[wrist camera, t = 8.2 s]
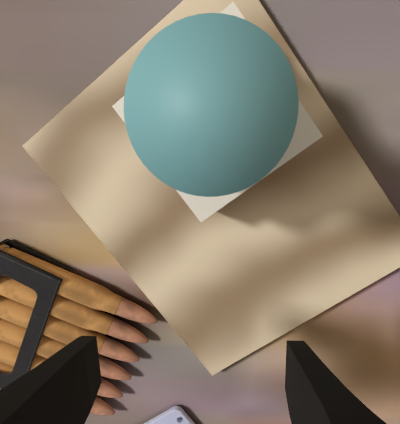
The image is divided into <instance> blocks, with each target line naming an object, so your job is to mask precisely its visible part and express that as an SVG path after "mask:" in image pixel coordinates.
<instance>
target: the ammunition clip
mask: <svg viewBox="0 0 400 424" xmlns="http://www.w3.org/2000/svg"><path fill="white" fill-rule="evenodd" d="M72 271H73V269H71V268H69V267H67V266H65V265H63V264H61V263H59V262H56V261H54V260H52V259H50V258H48V257H46V256H44V255H41V254H39V253H37V252H35V251H33V250H31V249H29V248H27V247H24V246H22V245H20V244H18V243H16V242H14V241H12V240H9V239H6V240H4V241H2V242H0V389H3V388H4V387H6V386H7V385H9V384H10V383H12V382H13V381H15V380H17V379H18V378H20V377H21V376H23V375H24V374H26V373H27V372H29V371H30V370H32V369H33V368H35V367H36V366H38V365H39V364H41V363H42V362H43V361H45V360H46V359H48V358H49V357H51V356H52V355H53V354H55V353H56V352H58V351H59V350H60V349H62V348H63V347H65V346H66V345H68V344H69V343H70V342H72V341H73V340H75V339H76V338H78V337H80V336H96V338H97V346H98V355H99V354H101V355H103V356H106V357H109V358H112V359H116V360H120V361H127V362H137V361H139V357H138V356H137V355H136V354H135V353H134V352H133V351H132V350H130V349H129V348H128V347H126V346H125V345H123V344H121V343H119V342H117V341H115V340H113V339H111V338H108V337H107V336H105V335H103V334H106V335H110V336H112V337H115V338H117V339H121V340H124V341H129V342H135V343H147V342H148V339H147V337H146V336H145V335H144V334H143V333H141V332H140V331H139V330H137V329H136V328H134V327H133V326H131V325H129V324H127V323H126V322H124V321H121V320H119V319H117V318H115V317H113V316H111V315H109V314H107V313H105V312H103V311H106V312H108V313H111V314H114V315H118V316H120V317H123V318H126V319H129V320H132V321H136V322H141V323H157V319H156V318H155V317H154V316H153V315H152V314H151V313H150V312H148V311H147V310H146V309H144V308H143V307H141V306H139V305H137V304H135V303H134V302H132V301H129V300H127V299H125V298H123V297H121V296H119V295H117V294H115V293H113V292H112V291H110V290H109V289H107V288H106V287H104V286H102V285H100V284H97V283H95V282H93V281H90V280H88V279H86V278H83V277H81V276H79V275H76V274H74V273H72ZM99 332H100V333H99ZM101 333H103V334H101ZM99 363H100V371H101V376H103V377H107V378H111V379H117V380H129V379H131V375H130V374H129V373H128V372H127V371H126V370H125V369H123V368H122V367H121V366H119V365H118V364H116V363H114V362H113V361H111V360H109V359H107V358H104V357H102V356H100V355H99ZM101 380H102V382H101V385H100V388H99V391H98V393H97V395H98V396H103V397H109V398H120V397H122V396H123V394H122V392H121V391H120V390H119V389H118V388H117V387H115V386H114V385H113V384H111V383H110V382H108V381H107V380H105V379H103V378H101ZM90 413H93V414H98V415H113V414H115V411H114V409H113V408H112V407H111V406H110V405H109V404H107V403H106V402H105V401H103V400H102V399H100V398H98V397H97V396H96V399H95V401H94V404H93V407H92V409H91V411H90Z"/></svg>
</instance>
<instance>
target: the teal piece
mask: <svg viewBox="0 0 400 424" xmlns="http://www.w3.org/2000/svg"><path fill="white" fill-rule="evenodd" d="M298 103H299V98H298V89H297V84H296V80H295V76H294V73H293V70H292V68H291V65H290V63H289V61H288V59H287V57H286V55H285V54H284V52H283V51H282V49H281V48H280V47H279V45H278V44H277V43H276V42H275V41H274V40H273V39H272V38H271V37H270V36H269V35H268V34H267V33H266V32H265V31H263V30H262V29H261V28H259V27H258V26H256V25H255V24H253V23H251V22H249V21H247V20H245V19H242V18H239V17H237V16H233V15H228V14H223V13H204V14H197V15H192V16H188V17H185V18H183V19H180V20H178V21H175V22H174V23H172V24H170V25H168V26H167V27H165V28H164V29H162V30H161V31H160V32H158V33H157V34H156V35H155V36H154V37H153V38H152V39H151V40H150V41H149V42H148V43H147V44H146V45H145V47H144V48H143V49H142V51H141V52H140V53H139V55H138V57H137V58H136V60H135V62H134V64H133V66H132V68H131V71H130V73H129V76H128V80H127V83H126V87H125V94H124V118H125V125H126V129H127V133H128V136H129V139H130V142H131V144H132V146H133V148H134V150H135V152H136V154H137V156H138V157H139V159H140V160H141V162H142V163H143V164H144V165H145V167H146V168H147V169H148V170H149V171H150V172H151V173H152V174H153V175H154V176H155V177H157V178H158V179H159V180H160V181H162V182H163V183H165V184H166V185H168V186H170V187H172V188H174V189H176V190H178V191H181V192H184V193H186V194H191V195H195V196H204V197H217V196H224V195H229V194H233V193H236V192H239V191H242V190H244V189H246V188H248V187H250V186H252V185H254V184H255V183H257V182H258V181H260V180H261V179H262V178H264V177H265V176H266V175H267V174H268V173H269V172H270V171H271V170H272V169H273V168H274V167H275V166H276V165H277V164H278V162H279V161H280V160H281V158H282V157H283V155H284V154H285V152H286V150H287V148H288V147H289V144H290V142H291V140H292V137H293V135H294V131H295V127H296V124H297V117H298Z"/></svg>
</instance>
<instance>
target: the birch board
mask: <svg viewBox="0 0 400 424" xmlns="http://www.w3.org/2000/svg"><path fill="white" fill-rule="evenodd" d="M232 2H234V3H235V5H236V6H237V8H238V9H239V11H240V12H241V14H242V15H243V17H244V18H245V20H247V21H249V22H251V23H253V24H255V25H256V26H258V27H259V28H261V29H262V30H263V31H265V32H266V33H267V34H268V35H269V36H270V37H271V38H272V39H273V40H274V41H275V42H276V43H277V44H278V45H279V47H280V48H281V49H282V51H283V52H284V54H285V55H286V57H287V59H288V61H289V63H290V65H291V68H292V70H293V73H294V76H295V80H296V84H297V89H298V98H299V101H300V102H301V104H302V105H303V107H304V108H305V110H306V111H307V113H308V114H309V116H310V117H311V119H312V120H313V122H314V123H315V125H316V126H317V128H318V129H319V131H320V132H321V134H322V135H323V137H321V138H320V139H318V140H317V141H316V142H314V143H313V144H311V145H310V146H308V147H307V148H306V149H304V150H303V151H301V152H300V153H299V154H297V155H296V156H294V157H293V158H291V159H290V160H289V161H287V162H286V163H284V164H283V165H282V166H280V167H279V168H277V169H276V170H275V171H273V172H272V173H270V174H269V175H267V176H266V177H265V178H263V179H262V180H260V181H259V182H258V183H256V184H255V185H253V186H252V187H250V188H249V189H248V190H246V191H245V192H243V193H242V194H241V195H239V196H238V197H236V198H235V199H233V200H232V201H231V202H229V203H228V204H226V205H225V206H224V207H222V208H221V209H219V210H218V211H217V212H215V213H214V214H212V215H211V216H209V217H208V218H207V219H205V220H204V221H202V222H200V221H199V220H198V218H197V217H196V216H195V214H194V213H193V212H192V210H191V209H190V208H189V206H188V205H187V204H186V203H185V201H184V200H183V199H182V197H181V196H180V195H179V193H178V192H177V191H176V189H174V188H172V187H170V186H168V185H166V184H165V183H163V182H162V181H160V180H159V179H158V178H157V177H155V176H154V175H153V174H152V173H151V172H150V171H149V170H148V169H147V168H146V167H145V165H144V164H143V163H142V162H141V160H140V159H139V157H138V156H137V154H136V152H135V150H134V148H133V146H132V144H131V142H130V139H129V136H128V133H127V129H126V125H125V123H124V121H123V120H122V119H121V117H120V116H119V115H118V114H117V112H116V111H115V110H114V108H113V107H112V106H113V105H114V104H115V103H116V102H117V101H119V100H120V99H121V98H122V97H123V96H124V94H125V87H126V83H127V80H128V76H129V73H130V71H131V68H132V66H133V64H134V62H135V60H136V58H137V57H138V55H139V53H140V52H141V51H142V49H143V48H144V47H145V45H146V44H147V43H148V42H149V41H150V40H151V39H152V38H153V37H154V36H155V35H156V34H157V33H158V32H160V31H161V30H162V29H164V28H165V27H167V26H168V25H170V24H172V23H174V22H175V21H178V20H180V19H183V18H185V17H188V16H192V15H197V14H204V13H220V12H221V11H223V10H224V9H225V8H226V7H227V6H228V5H229V4H231V3H232ZM23 147H24V149H25V150H26V151H27V152H28V153H29V155H30V156H31V157H32V158H33V159H34V161H35V162H36V163H37V164H38V166H39V167H40V168H41V169H42V170H43V172H44V173H45V174H46V175H47V176H48V178H49V179H50V180H51V181H52V182H53V184H54V185H55V186H56V187H57V188H58V190H59V191H60V192H61V193H62V195H63V196H64V197H65V198H66V199H67V201H68V202H69V203H70V204H71V205H72V207H73V208H74V209H75V210H76V211H77V213H78V214H79V215H80V216H81V218H82V219H83V220H84V221H85V222H86V224H87V225H88V226H89V227H90V228H91V230H92V231H93V232H94V233H95V234H96V236H97V237H98V238H99V239H100V240H101V242H102V243H103V244H104V245H105V247H106V248H107V249H108V250H109V251H110V253H111V254H112V255H113V256H114V257H115V259H116V260H117V261H118V262H119V263H120V265H121V266H122V267H123V268H124V269H125V271H126V272H127V273H128V274H129V276H130V277H131V278H132V279H133V280H134V282H135V283H136V284H137V285H138V286H139V288H140V289H141V290H142V291H143V292H144V294H145V295H146V296H147V297H148V298H149V300H150V301H151V302H152V303H153V305H154V306H155V307H156V308H157V309H158V311H159V312H160V313H161V314H162V315H163V317H164V318H165V319H166V320H167V321H168V323H169V324H170V325H171V326H172V327H173V329H174V330H175V331H176V332H177V334H178V335H179V336H180V337H181V338H182V340H183V341H184V342H185V343H186V344H187V346H188V347H189V348H190V349H191V350H192V352H193V353H194V354H195V355H196V356H197V358H198V359H199V360H200V361H201V363H202V364H203V365H204V366H205V367H206V369H207V370H208V371H209V372H210V373H211V375H214V374H216V373H217V372H219V371H221V370H223V369H224V368H226V367H228V366H230V365H231V364H233V363H235V362H236V361H238V360H240V359H242V358H243V357H245V356H247V355H249V354H250V353H252V352H254V351H256V350H257V349H259V348H261V347H263V346H264V345H266V344H268V343H269V342H271V341H273V340H275V339H276V338H278V337H280V336H282V335H283V334H285V333H287V332H289V331H290V330H292V329H294V328H295V327H297V326H299V325H301V324H302V323H304V322H306V321H308V320H309V319H311V318H313V317H315V316H316V315H318V314H320V313H321V312H323V311H325V310H327V309H328V308H330V307H332V306H334V305H335V304H337V303H339V302H341V301H342V300H344V299H346V298H348V297H349V296H351V295H353V294H354V293H356V292H358V291H360V290H361V289H363V288H365V287H367V286H368V285H370V284H372V283H374V282H375V281H377V280H379V279H380V278H382V277H384V276H386V275H387V274H389V273H391V272H393V271H394V270H396V269H398V268H400V216H399V215H398V213H397V211H396V210H395V208H394V207H393V205H392V204H391V202H390V201H389V199H388V198H387V196H386V195H385V193H384V192H383V190H382V188H381V187H380V185H379V184H378V182H377V181H376V179H375V178H374V176H373V175H372V173H371V172H370V170H369V169H368V167H367V165H366V164H365V162H364V161H363V159H362V158H361V156H360V155H359V153H358V152H357V150H356V149H355V147H354V146H353V144H352V143H351V141H350V139H349V138H348V136H347V135H346V133H345V132H344V130H343V129H342V127H341V126H340V124H339V123H338V121H337V120H336V118H335V116H334V115H333V113H332V112H331V110H330V109H329V107H328V106H327V104H326V103H325V101H324V100H323V98H322V97H321V95H320V93H319V92H318V90H317V89H316V87H315V86H314V84H313V83H312V81H311V80H310V78H309V77H308V75H307V74H306V72H305V70H304V69H303V67H302V66H301V64H300V63H299V61H298V60H297V58H296V57H295V55H294V54H293V52H292V51H291V49H290V47H289V46H288V44H287V43H286V41H285V40H284V38H283V37H282V35H281V34H280V32H279V31H278V29H277V28H276V26H275V24H274V23H273V21H272V20H271V18H270V17H269V15H268V14H267V12H266V11H265V9H264V8H263V6H262V5H261V3H260V1H259V0H183V1H182V2H181V3H180V4H179V5H178V6H177V7H176V8H175V9H173V10H172V11H171V12H170V13H169V14H168V15H167V16H166V17H165V18H164V19H162V20H161V21H160V22H159V23H158V24H157V25H156V26H155V27H154V28H152V29H151V30H150V31H149V32H148V33H147V34H146V35H145V36H144V37H142V38H141V39H140V40H139V41H138V42H137V43H136V44H135V45H134V46H132V47H131V48H130V49H129V50H128V51H127V52H126V53H125V54H124V55H123V56H121V57H120V58H119V59H118V60H117V61H116V62H115V63H114V64H113V65H111V66H110V67H109V68H108V69H107V70H106V71H105V72H104V73H103V74H101V75H100V76H99V77H98V78H97V79H96V80H95V81H94V82H93V83H92V84H90V85H89V86H88V87H87V88H86V89H85V90H84V91H83V92H82V93H80V94H79V95H78V96H77V97H76V98H75V99H74V100H73V101H72V102H70V103H69V104H68V105H67V106H66V107H65V108H64V109H63V110H62V111H61V112H59V113H58V114H57V115H56V116H55V117H54V118H53V119H52V120H51V121H49V122H48V123H47V124H46V125H45V126H44V127H43V128H42V129H41V130H39V131H38V132H37V133H36V134H35V135H34V136H33V137H32V138H31V139H30V140H28V141H27V142H26V143H25V144H24V145H23Z"/></svg>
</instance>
